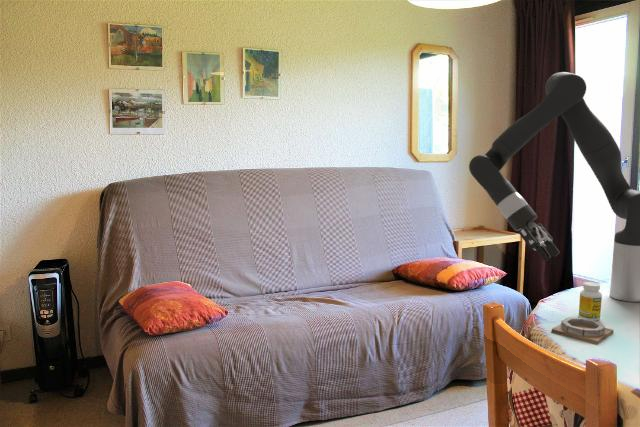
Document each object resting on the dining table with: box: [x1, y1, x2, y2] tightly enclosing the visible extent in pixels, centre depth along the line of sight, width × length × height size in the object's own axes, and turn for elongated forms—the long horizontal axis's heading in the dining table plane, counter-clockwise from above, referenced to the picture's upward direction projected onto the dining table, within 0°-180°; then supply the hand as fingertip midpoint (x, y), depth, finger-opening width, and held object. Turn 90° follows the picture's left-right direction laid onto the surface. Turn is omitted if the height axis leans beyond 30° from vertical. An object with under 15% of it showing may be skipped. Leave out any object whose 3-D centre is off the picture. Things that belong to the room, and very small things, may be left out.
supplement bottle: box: [578, 281, 603, 322], centre depth 149 cm, size 5×5×10 cm
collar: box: [551, 316, 614, 345], centre depth 138 cm, size 11×11×2 cm
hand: (552, 257), depth 154 cm, fingers open, 8 cm apart
